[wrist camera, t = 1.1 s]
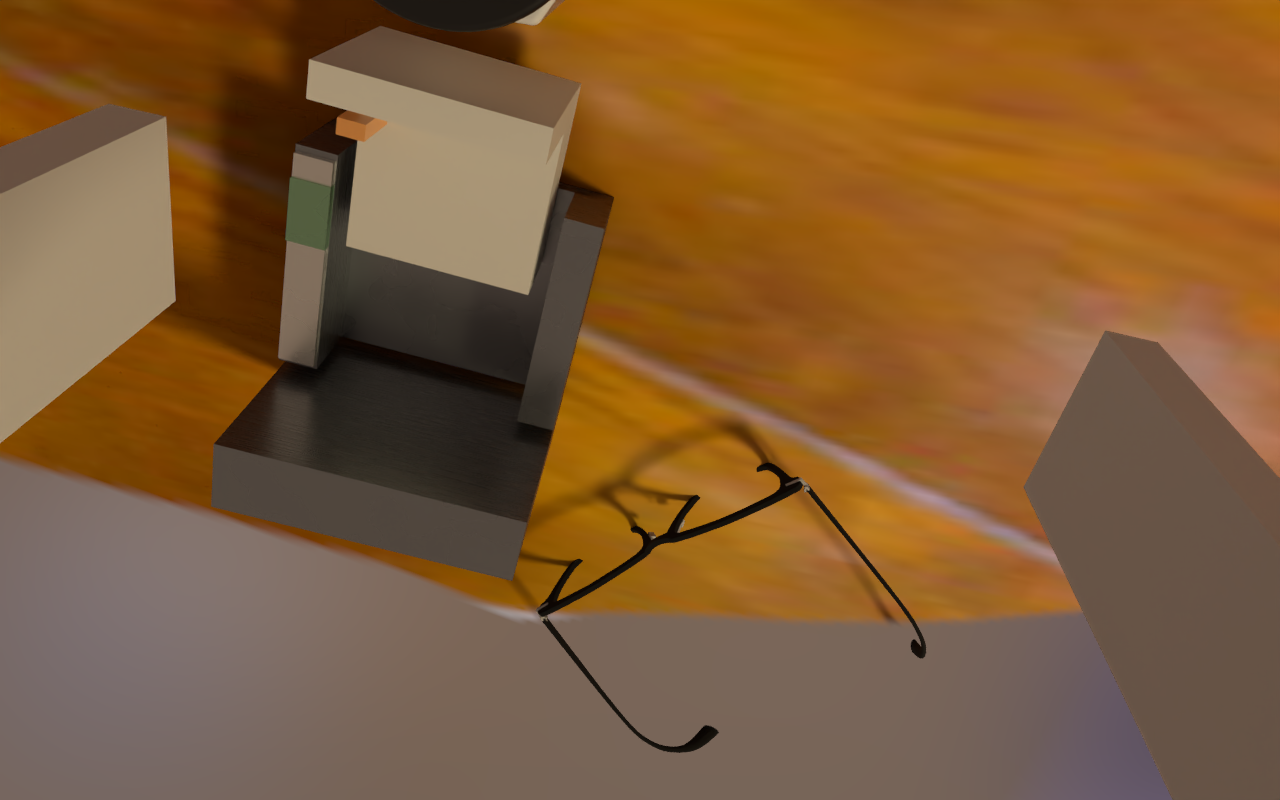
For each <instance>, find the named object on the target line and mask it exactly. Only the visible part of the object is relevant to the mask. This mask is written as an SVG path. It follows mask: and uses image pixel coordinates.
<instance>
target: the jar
mask: <svg viewBox="0 0 1280 800" xmlns="http://www.w3.org/2000/svg"><path fill="white" fill-rule="evenodd" d="M374 1H375V2H376V3H378V4H380V5H381V6H383V7H384V8H386V9H387V10H389V11H391V12H393V13H394V14H396V15H398V16H400V17H402V18H404V19H407V20H409V21H412V22H414V23H417V24H420V25H423V26H426V27H430V28H434V29H439V30H445V31H454V32H475V31H484V30H490V29H495V28H499V27H502V26H506V25H508V24H511V23H514V22H516V23H522V24H527V25H537V24H539V23H540V22H541V21H542V20H543V19H544V18H546V17H547V16H548V15H549V14H550V13H551V12H552V11H554V10H555V9H556V8H557V7H558V6H559V5H560V4H561V3H563V2H564V1H565V0H374Z"/></svg>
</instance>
